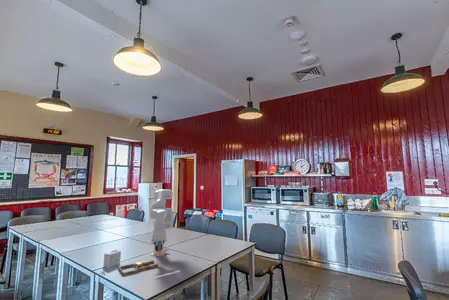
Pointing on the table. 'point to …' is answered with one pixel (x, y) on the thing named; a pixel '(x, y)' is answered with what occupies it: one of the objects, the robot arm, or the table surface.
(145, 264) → the dark gray cube
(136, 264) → the tan yellow cube
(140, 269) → the slot board
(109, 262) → the light bulb box
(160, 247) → the gray orange block
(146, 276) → the table surface
